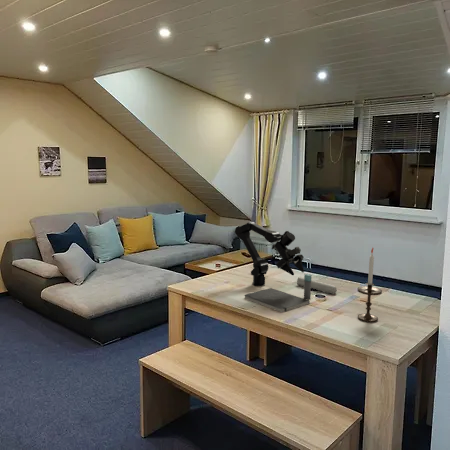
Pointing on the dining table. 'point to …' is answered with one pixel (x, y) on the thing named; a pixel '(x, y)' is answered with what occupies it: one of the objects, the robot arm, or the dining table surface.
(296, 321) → the dining table surface
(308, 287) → the ball
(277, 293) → the notebook
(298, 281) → the tube
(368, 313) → the candlestick
